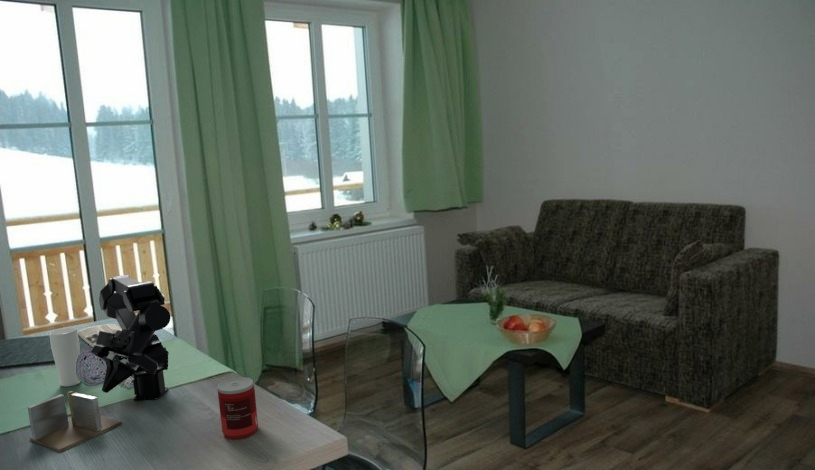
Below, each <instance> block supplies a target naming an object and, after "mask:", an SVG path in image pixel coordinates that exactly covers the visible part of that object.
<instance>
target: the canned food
mask: <svg viewBox="0 0 815 470" xmlns="http://www.w3.org/2000/svg"><path fill="white" fill-rule="evenodd" d="M217 398H218V406H219V414H220V422H221V423H220V425H221V430H222V431H221V432H222V434H223V435H224V437H225V438H227V439H229V440H241V439H247V438H248V437H251V436H253V435H254V434H256V432H257V431H258V428H259V420H258V412H257V411H258V410H257V399H256V390H255V383H254V380H253V379H252V378H249V377H241V376H240V377H232V378H228V379H226V380H223V381H221V382H220V383H218V385H217Z"/></svg>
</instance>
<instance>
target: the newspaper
mask: <svg viewBox="0 0 815 470" xmlns="http://www.w3.org/2000/svg"><path fill="white" fill-rule="evenodd" d="M118 330H119V331H122V329H121V327H120V325H119V324H117V323H115V324H114V323H113V324H111V323H110V324H109V323H104V324H97V325H93V326H92V325H91V326H88V327H85V328H82V329H80V330H77V332H78V337H79V339H81V340H83V341H84V342H85V343H86V344H87V345H88V344H89V345H88V346H90V347H91V348H92V347H94V346H95V345H97V344H96V342H97V338H98V335H99V331H104V332H110V333H116V332H117V331H118Z"/></svg>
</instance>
